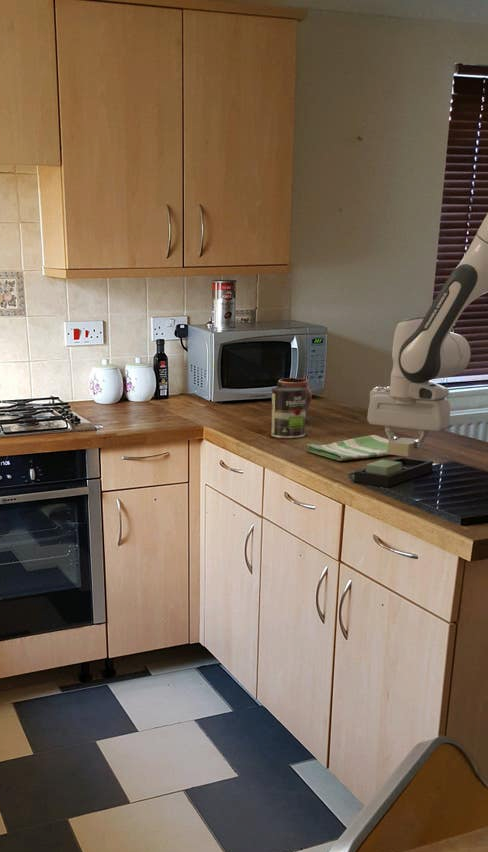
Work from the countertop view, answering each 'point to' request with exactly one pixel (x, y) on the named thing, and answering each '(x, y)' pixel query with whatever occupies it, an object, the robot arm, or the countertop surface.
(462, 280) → the robot arm
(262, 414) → the countertop surface
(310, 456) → the countertop surface
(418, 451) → the cream pad
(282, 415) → the coffee can
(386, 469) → the sage pad
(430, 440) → the countertop surface
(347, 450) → the dish towel
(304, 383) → the decorative planter
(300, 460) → the countertop surface
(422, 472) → the divided tray
